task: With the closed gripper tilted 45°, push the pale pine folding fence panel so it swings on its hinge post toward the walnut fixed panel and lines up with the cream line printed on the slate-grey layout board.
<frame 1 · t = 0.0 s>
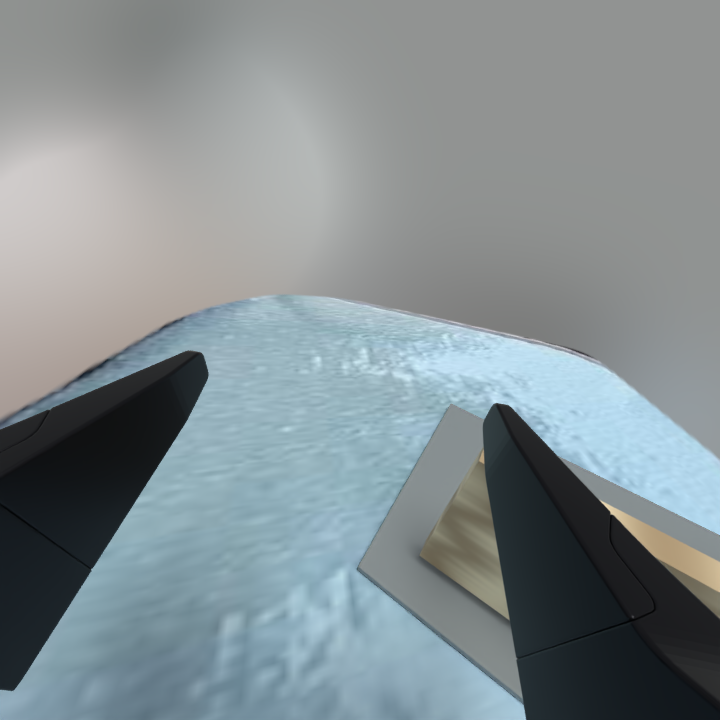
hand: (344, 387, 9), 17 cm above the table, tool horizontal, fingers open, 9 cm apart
layout board: (572, 565, 21), on the table
folding fence panel: (624, 621, 13), point 7 cm above the table, hinge at 0.0°
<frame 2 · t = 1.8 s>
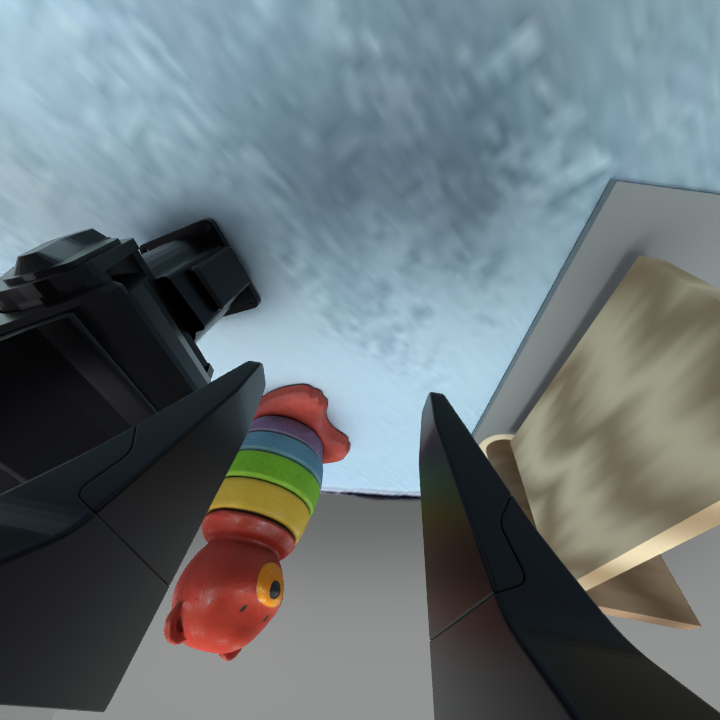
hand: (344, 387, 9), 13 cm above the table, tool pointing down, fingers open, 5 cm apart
fixed fence panel: (502, 448, 29), resting on layout board
layout board: (628, 383, 23), on the table
stacking bear: (295, 422, 32), on the table
folding fence panel: (606, 435, 17), point 7 cm above the table, hinge at 0.0°
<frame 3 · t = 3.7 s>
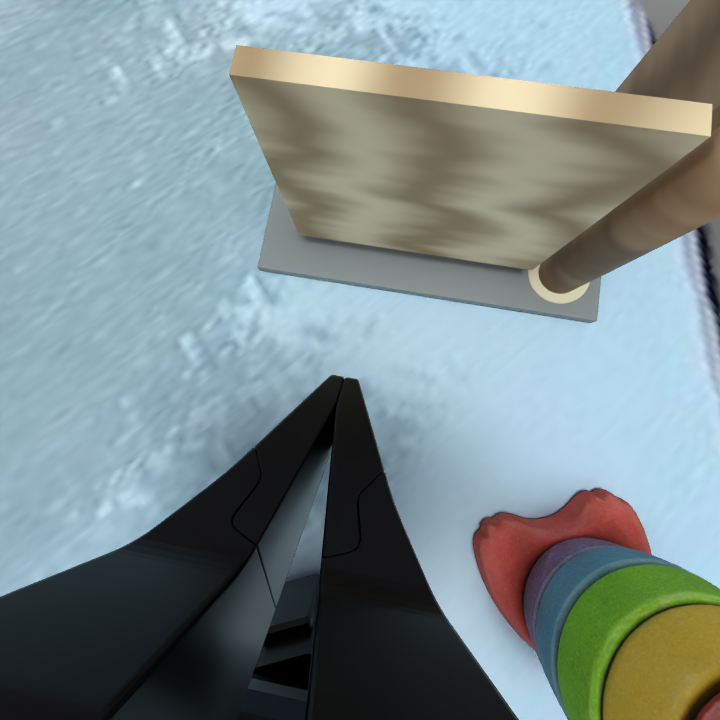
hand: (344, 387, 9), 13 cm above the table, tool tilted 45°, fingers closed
fixed fence panel: (558, 274, 22), resting on layout board
layout board: (438, 186, 23), on the table
stacking bear: (562, 574, 20), on the table
folding fence panel: (430, 193, 16), point 7 cm above the table, hinge at 0.0°
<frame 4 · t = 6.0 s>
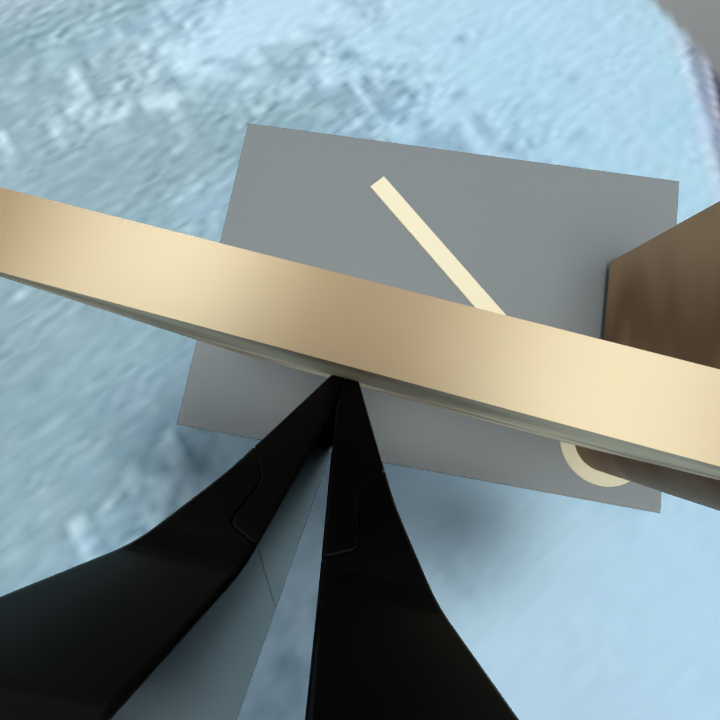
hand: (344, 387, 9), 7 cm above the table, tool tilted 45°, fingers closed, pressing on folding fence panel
fixed fence panel: (603, 441, 15), resting on layout board
layout board: (432, 303, 17), on the table
folding fence panel: (420, 379, 9), point 7 cm above the table, hinge at 5.5°, touching gripper
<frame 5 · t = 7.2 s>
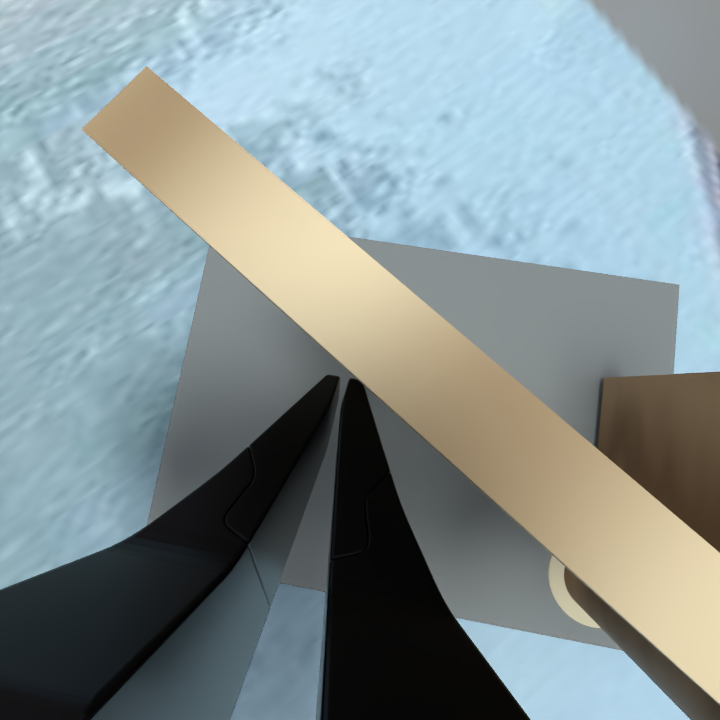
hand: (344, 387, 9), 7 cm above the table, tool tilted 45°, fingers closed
fixed fence panel: (594, 576, 14), resting on layout board
layout board: (413, 416, 16), on the table
folding fence panel: (465, 448, 9), point 7 cm above the table, hinge at 32.6°, touching gripper
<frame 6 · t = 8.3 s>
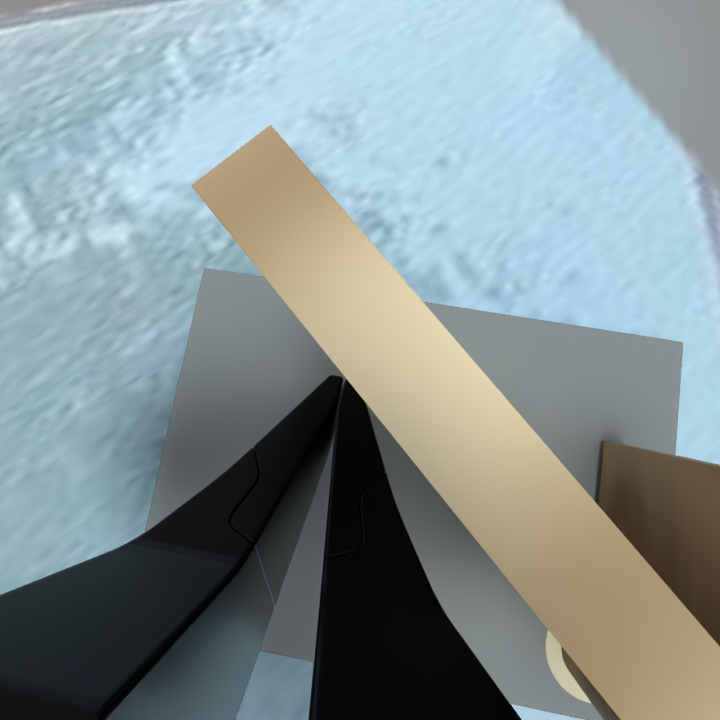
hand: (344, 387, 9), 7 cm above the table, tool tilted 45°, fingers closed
fixed fence panel: (593, 649, 14), resting on layout board
layout board: (407, 476, 15), on the table
folding fence panel: (498, 521, 8), point 7 cm above the table, hinge at 41.4°, touching gripper
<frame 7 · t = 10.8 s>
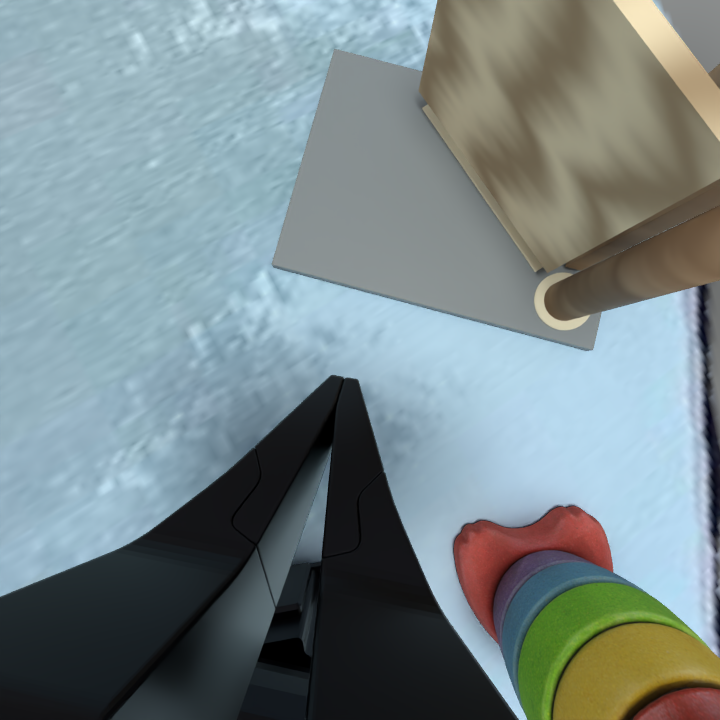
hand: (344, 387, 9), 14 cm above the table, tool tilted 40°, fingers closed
fixed fence panel: (562, 301, 23), resting on layout board
layout board: (457, 200, 24), on the table
stacking bear: (530, 579, 22), on the table
folding fence panel: (531, 110, 16), point 7 cm above the table, hinge at 41.4°
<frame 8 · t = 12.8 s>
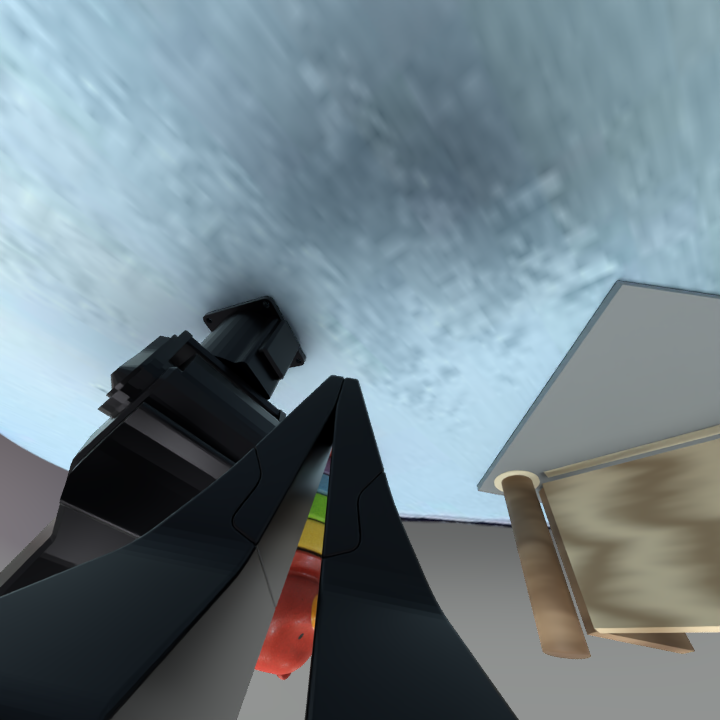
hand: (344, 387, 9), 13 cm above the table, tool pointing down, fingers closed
fixed fence panel: (516, 481, 32), resting on layout board
layout board: (631, 431, 26), on the table
stacking bear: (326, 455, 35), on the table
folding fence panel: (691, 528, 21), point 7 cm above the table, hinge at 41.4°
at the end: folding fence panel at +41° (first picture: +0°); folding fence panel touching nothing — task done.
